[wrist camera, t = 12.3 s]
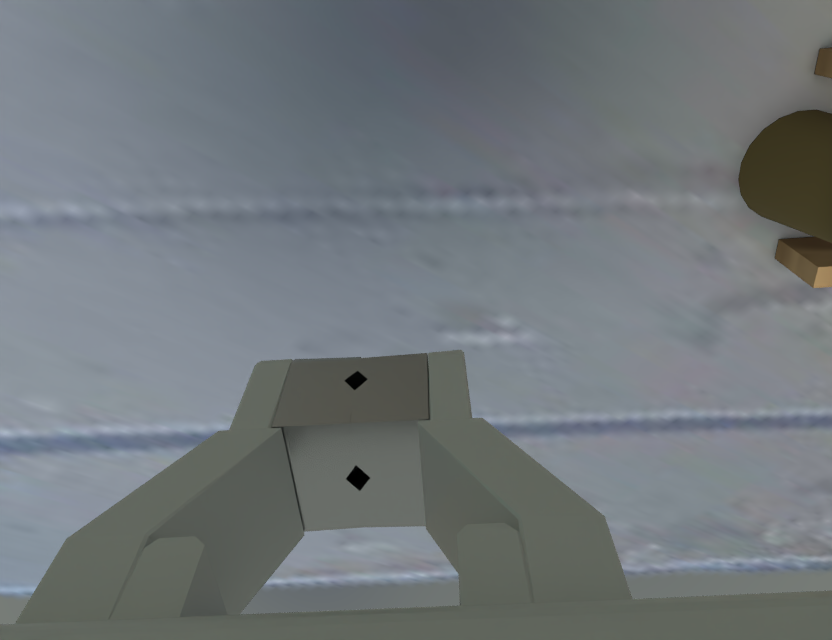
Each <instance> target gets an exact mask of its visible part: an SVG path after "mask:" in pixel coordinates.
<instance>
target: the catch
mask: <svg viewBox="0 0 832 640" xmlns="http://www.w3.org/2000/svg"><path fill="white" fill-rule="evenodd" d="M815 74H816V75H820V76H824V77H829V78H832V48H822V49H820V50H819V55H818V60H817V64H816V69H815ZM775 259H776V260H778V261H779V262H780V263H781V264H783V265H784V266H785V267H787V268H788V269H789V270H790V271H792V272H793V273H794V274H796V275H797V276H798V277H800V278H801V279H802V280H803V281H805V282H806V283H807V284H809V285H810V286H811V287H813V288H820V287H832V243H830V242H828V241H825V240H822V239H820V238H817V237H804V238H790V239H779V242H778V246H777V251H776V256H775Z"/></svg>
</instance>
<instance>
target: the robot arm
mask: <svg viewBox="0 0 832 640" xmlns="http://www.w3.org/2000/svg"><path fill="white" fill-rule="evenodd" d="M428 367H429V368H428ZM405 526H426V529H427V531H428V532H429V534H430V535H431V536H432V538H433V539H434V540H435V542H436V543H437V545H438V546H439V547H440V549H441V550H442V552H443V553H444V554H445V556H446V557H447V559H448V560H449V561H450V563H451V564H452V565H453V567H454V568H455V570H456V571H457V572H458V574H459V598H460V606H438V607H437V606H436V607H410V608H385V609H361V610H339V611H314V612H289V613H265V614H241V615H240V613H241V612H242V611H243V610H244V608H245V607H246V606H247V605H248V604H249V602H250V601H251V600H252V599H253V597H254V596H255V595H256V594H257V592H258V591H259V590H260V589H261V588H262V586H263V585H264V584H265V583H266V582H267V580H268V579H269V578H270V577H271V575H272V574H273V573H274V572H275V570H276V569H277V568H278V567H279V566H280V564H281V563H282V562H283V561H284V559H285V558H286V557H287V556H288V555H289V553H290V552H291V551H292V550H293V548H294V547H295V546H296V545H297V543H298V542H299V541H300V540H301V539H302V537H303V536H304V532H305V531H319V530H333V529H347V528H360V527H405ZM0 640H832V591H806V592H782V593H760V594H738V595H737V594H736V595H714V596H691V597H669V598H668V597H667V598H646V599H645V598H644V599H632V596H631V593H630V590H629V587H628V584H627V581H626V578H625V575H624V572H623V569H622V566H621V563H620V560H619V557H618V554H617V552H616V549H615V546H614V543H613V540H612V537H611V534H610V531H609V528H608V525H607V522H606V519H605V516H604V515H602V514H601V513H600V512H599V511H597V510H596V509H595V508H594V507H592V506H591V505H590V504H589V503H587V502H586V501H585V500H584V499H583V498H581V497H580V496H579V495H578V494H576V493H575V492H574V491H573V490H571V489H570V488H569V487H568V486H566V485H565V484H564V483H563V482H561V481H560V480H559V479H558V478H556V477H555V476H554V475H553V474H551V473H550V472H549V471H548V470H547V469H545V468H544V467H543V466H542V465H540V464H539V463H538V462H537V461H535V460H534V459H533V458H532V457H530V456H529V455H528V454H527V453H525V452H524V451H523V450H522V449H520V448H519V447H518V446H517V445H515V444H514V443H513V442H512V441H510V440H509V439H508V438H507V437H506V436H504V435H503V434H502V433H501V432H499V431H498V430H497V429H496V428H494V427H493V426H492V425H491V424H489V423H488V422H487V421H486V420H484V419H483V418H472V413H471V405H470V397H469V389H468V381H467V373H466V365H465V357H464V352H463V351H462V350H453V351H442V352H431V353H428V355H427V353H421V354H408V355H395V356H382V357H369V358H361V357H348V358H318V359H295V360H292V359H285V360H269V361H260V362H259V363H257V364H256V365H255V367H254V369H253V372H252V374H251V377H250V379H249V382H248V384H247V387H246V389H245V392H244V394H243V397H242V399H241V402H240V404H239V407H238V409H237V412H236V414H235V417H234V419H233V422H232V424H231V427H230V429H229V430H226V431H218V432H217V433H215V434H214V435H212V436H211V437H209V438H208V439H207V440H205V441H204V442H202V443H201V444H200V445H198V446H197V447H195V448H194V449H193V450H191V451H190V452H188V453H187V454H186V455H184V456H183V457H181V458H180V459H178V460H177V461H176V462H174V463H173V464H171V465H170V466H169V467H167V468H166V469H164V470H163V471H162V472H160V473H159V474H157V475H156V476H154V477H153V478H152V479H150V480H149V481H147V482H146V483H145V484H143V485H142V486H140V487H139V488H138V489H136V490H135V491H133V492H132V493H131V494H129V495H128V496H126V497H125V498H123V499H122V500H121V501H119V502H118V503H116V504H115V505H114V506H112V507H111V508H109V509H108V510H107V511H105V512H104V513H102V514H101V515H99V516H98V517H97V518H95V519H94V520H92V521H91V522H90V523H88V524H87V525H85V526H84V527H83V528H81V529H80V530H78V531H77V532H76V533H74V534H73V535H71V536H70V537H68V538H67V539H66V540H65V542H64V544H63V545H62V547H61V549H60V550H59V552H58V554H57V555H56V557H55V558H54V560H53V562H52V563H51V565H50V567H49V568H48V570H47V572H46V573H45V575H44V577H43V578H42V580H41V582H40V583H39V585H38V586H37V588H36V590H35V591H34V593H33V595H32V596H31V598H30V600H29V601H28V603H27V605H26V606H25V608H24V610H23V611H22V613H21V614H20V616H19V618H18V619H17V621H16V623H15V624H0Z"/></svg>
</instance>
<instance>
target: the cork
mask: <svg viewBox="0 0 832 640" xmlns="http://www.w3.org/2000/svg"><path fill="white" fill-rule="evenodd" d="M739 186H740V192H741V196H742V197H743V199H744V201H745V202H746V204H747V205H748V207H749V208H750V209H752V210H753V211H754V212H756V213H757V214H759V215H760V216H762V217H765V218H768V219H770V220H773V221H775V222H778V223H781V224H783V225H786V226H788V227H791V228H794V229H796V230H799V231H802V232H804V233H807V234H809V235H812V236H815V237H817V238H820V239H822V240H825V241H828V242H830V243H832V114H830V113H827V112H823V111H819V110H807V111H797V112H795V113H792V114H790V115H787V116H784V117H782V118H779V119H778V120H777V121H775V122H774V123H772V124H771V125H770V126H768V127H767V128H765V129H764V130H763V131H762V132H761V133H760V134H759V135H758V137H757V138H756V139H755V140H754V141H753V142H752V144H751V145H750V146H749V148H748V150H747V152H746V154H745V156H744V158H743V160H742V162H741V168H740V174H739Z"/></svg>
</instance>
